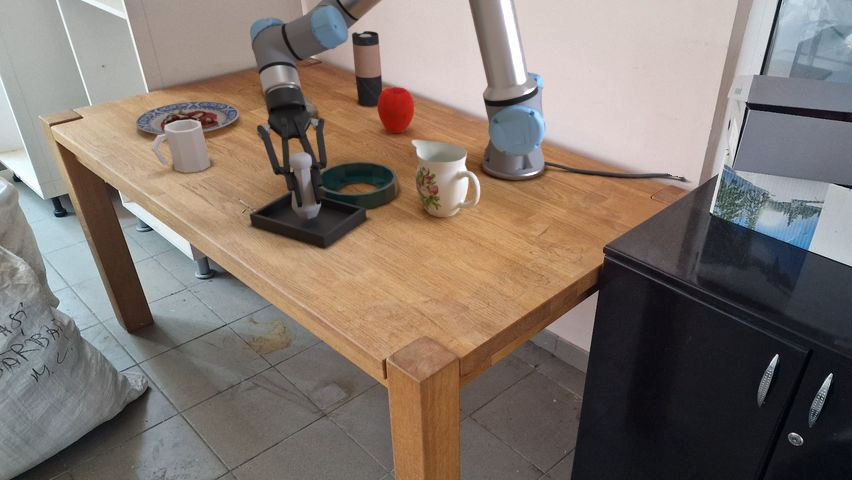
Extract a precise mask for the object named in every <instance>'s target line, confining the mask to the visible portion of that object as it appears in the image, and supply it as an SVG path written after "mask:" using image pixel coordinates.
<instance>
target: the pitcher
mask: <svg viewBox="0 0 852 480" xmlns="http://www.w3.org/2000/svg"><path fill="white" fill-rule="evenodd" d="M411 145H412V146H413V148H415V150H416V152H415V153H416V159H417V161H418V165H417V168H416V171H415V172H416V173H415V174H416V175H415V186H416V191H417V195H418V198H419V200H420V203H421V205H422V206H423V208H424V209H425V210H426V211H427V213H428V214H429V215H431V216H433V217H437V218H438V217H439V218H447V217H452V216H454V215H456V214H457V213H458V212H459V211H460V209H462V210H468V209H471V208H474V207H475V206H476V205H477V204H478V203H479V200H480V197H481V185H480V181H479V179H478V177H477V175H476V174H475V173H473V171H470V170H468V168H467V166H466V160H467V156H468V155H467V154H468V152H467V150H466V148H464V147H462V146H461V145H458V144H456V143H455V144H454V143H451V142H443V141H431V140H426V139H417V138H416V139H412V140H411ZM469 181H471V183H472V186H473V187H472V188H473V196H472V199H471V200H470V201H467V202H465V200H466V198H467V193H468V189H469Z"/></svg>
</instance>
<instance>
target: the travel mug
mask: <svg viewBox="0 0 852 480" xmlns="http://www.w3.org/2000/svg"><path fill="white" fill-rule="evenodd" d="M351 38H352V39H351V41H352V53H353V66H354V77H355V84H356V93H357V100H358V104H359V105H360V106H362V107H368V108H370V107H372V108H373V107H377V106H378V99H379V96H380V94H381V92H382V91H383V81H382V80H383V76H382V62H381V50H380V49H381V48H380V39H379V38H380V37H379V33H378V32H376V31H372V30H365V31H363V32H361V33H358V31H357V32H356V31H355V32H353V33H351Z"/></svg>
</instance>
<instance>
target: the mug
mask: <svg viewBox="0 0 852 480" xmlns="http://www.w3.org/2000/svg"><path fill="white" fill-rule="evenodd" d="M164 131H165V134H162V135H159V134H156V135H157V136H156V137H155V138H154V140H153V142H152V144H151V145H150V149H151V151H152V152H153V153H154V155H155V156H156V158H157V159H158V161H159V162H160V163H161V164H162V166H166V165H167V164H168V163H169V162H168V161H167V159H166V158H165V157H164V155H163V154H162V153H161V151H160V150H159V149H160V147H161V145H162V143H163V141H166V142H167V146H168V150H169V153H170V158H171V160H172V161H171V162H172V164H173V169H174V170H175V171H177V172H179V173H184V174H189V173H198V172H202V171H204V170H206V169H207V168H209V167H211V160H210V157H209V152H208V148H207V147H208V146H207V143H206V139H205V134H204V133H203V130H202V126H201V122H199V121H195V120H179V121H175V122H172V123H169V124H167V125H165V128H164Z"/></svg>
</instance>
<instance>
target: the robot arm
mask: <svg viewBox="0 0 852 480" xmlns="http://www.w3.org/2000/svg"><path fill="white" fill-rule="evenodd" d="M381 1H383V0H321V1H320V2H318V3H317V5H315V6H314V7H313V8H311V9H310V10H309V11H308V12H307V13H306V14H303V15H302V16H300V17H297V18H295V19H293V20H290V21H289V22H286V23H285V22H284V21H283V20H282V19H280V18H277V17H273V16H269V17H267V18H264V17H261V18H259V19H257V20H255V21H254V22H253V23H252V24H251V26H250V29H249V34H250V42H251V50H252V52H253V56H254V59H255V63H256V67H257V70H258V77H259V80H260V86H261V85H262V88H261V90H262V94H263V96H264V102H265V103H264V104H265V106H266V111H267V115H268V118H267V122H266V123H264V124H262V125H261V124H258V125H257V126H256V134H257V135H258V137H259V138H260V139H261V141H262V143H263V145H264V148H265V150H266V154H267V156H268V159H269V163H270V165H271V168H272V171H273V174H274V175H276V176H279V175H280V176H283V177H284V179H285V180H284V181H285V185H286V188H287V190H288V192H290V191H294V192H295V197H296V202H297V206H298V208H299V207H302V200H301V195H300V191H299V187H298V183H297V178H296V176H295V174H294V172H293V171H291V167H290V164H289V157H290V156H291V155H290V143H289V141H290V140H292V139H296V140H297V139H298V142H299V143H300V145H301V148H302V150H303V152H305V153H308V154H309V155H310V156H311V158H312V165H311V166H310V172H311V178H312V183H313V189H314V195H315V200H316V204H317V205H318V204H321V197H320V193H319V189H318V187H322V178H321V174H320V172H321V171H322V170H325V169H327V165H328V158H327V150H326V143H325V137H324V136H325V135H324V129H325V119H324V118H322V117H321V118H318V119H317V118H316V119H314V118H311V115H310V114H309V113H308V112H307V109H306V105H305V101H304V97H303V94H304V93H303V92H302V89H303V88H302V85H301V81H300V76H299V73H298V69H297V63H300V62H303V61H304V60H306V59H309V58H312V57H314V56H316V55H319V54H322V53H324V52H326V51H329V50H334V49H336V48H337V47H339V46H340V45H343V44H345V43H346V42H347V41H348V39H349V29H350V28H351V27H352V26H354V25H355V24H357V22H358V21H359V20H361V18H363V17H364V16H365V15H366V14H368V13H369V12H370V11H371V10H372V9H374V7H376V6H377V5H379V3H381ZM468 5H469V9H470V13H471V18H472V21H473V26H474V30H475V35H476V39H477V44H478V47H479V53H480V57H481V62H482V66H483V70H484V75H485V78H486V84H487V85H486V88H485V89H484V91H483V92H482V98H483V104H484V107H485V112H486V115H487V120H488V131H487V132H488V136H489V140H488V143H487V145H486V148H485V149H484V153H483V157H482V170H483V171H484V172H485V173H486V174H488V175H489V176H492V177H494V178H496V179H502V180H506V181H526V180H531V179H534V178H537V177H539V176H541V175H542V174H543V173H544V172H545V167H546V166H547V167H553V168H558V169H562V170H565V171H569V172H574V173H579V174H585V175H586V174H587V175H596V176H597V175H598V176H608V177H617V178H655V177H656V178H658V177H659V178H667V177H670V178H671V177H672V178H673V177H675V178H678V179H680V180H682V181H683V182H685V183H687V182H688V180H687V179H686V177H685V176H683V177H678V176H672V175H670V174H668V172H667V173H666V172H665V173H661V172H660V173H659V172H657V173H656V172H653V173H652V172H651V173H650V172H649V173H622V172H621V173H620V172H609V171H599V170H589V169H580V168H576V167H575V168H574V167H570V166H566V165H562V164H558V163H553V162H548V161H545V157H544V152H543V149H542V146H541V145H542V142H543V141H544V137H545V133H546V127H547V126H546V121H545V119H544V118H545V117H544V109H543V90H544V85H543V84H544V82H543V81H544V80H543V77H542V76H541V75H540V74H537V73H534V72H530V71H529V72H528V68H527V63H526V62H527V61H526V58H525V53H524V47H523V46H524V45H523V42H522V36H521V31H520V25H519V21H518V16H517V10H516V5H515V1H514V0H468ZM310 126H312V130H313V131H315V137H316V147H317V152H318V159H319V161H318V160H317V158H316V155H315V152H314V150H313V146H312V144H311V143H310V141H309V138H308V134H307V132H308V129H309V128H310ZM271 130H272V131H273V132H274V133H275V134H276V135H277V136H278V137H280V138H281V151H282V152H281V153H282V165H283V166H281V165H280V162H279V160H278V159H279V158H278V157H277V154H276V149H275V148H274V145H273V141H272V139H271Z"/></svg>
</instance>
